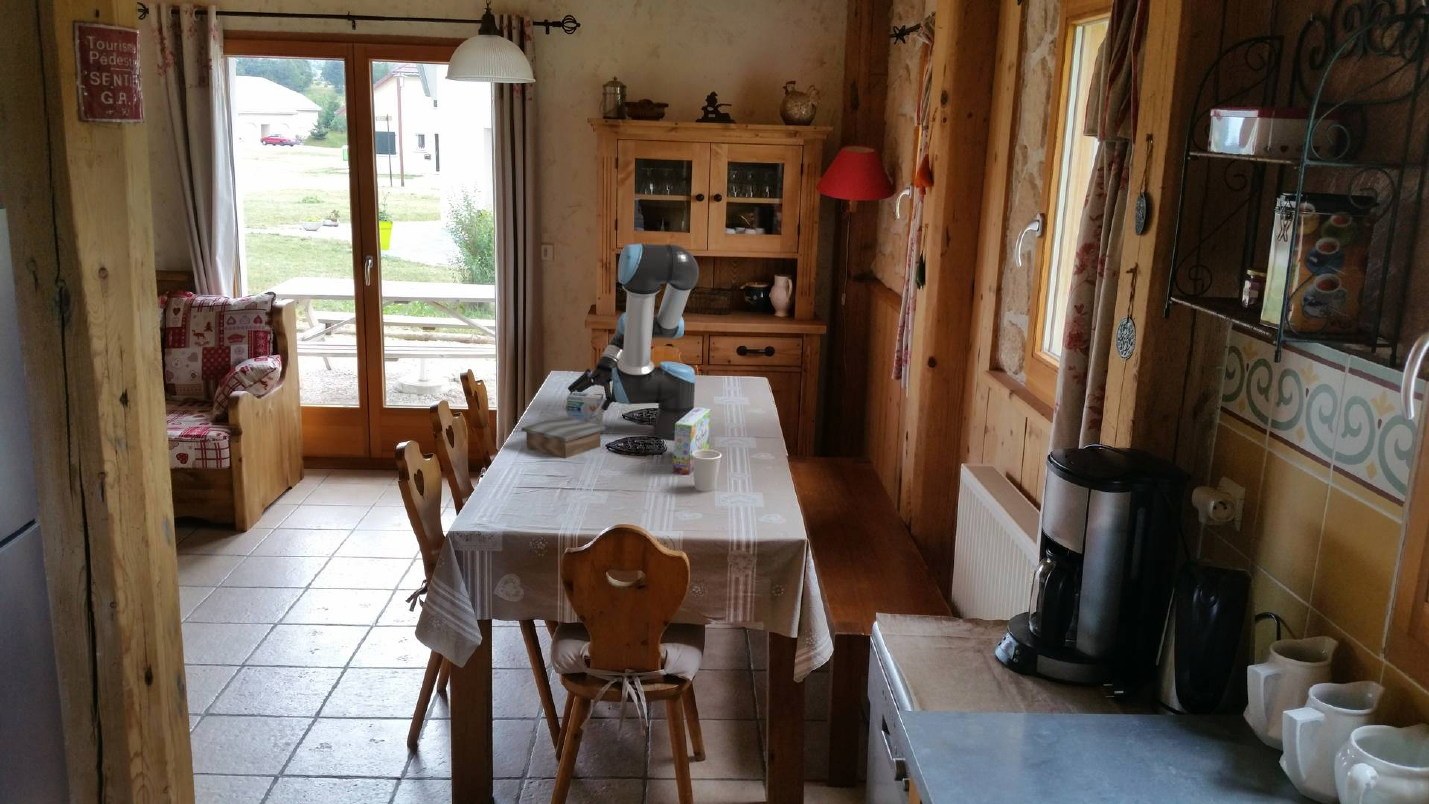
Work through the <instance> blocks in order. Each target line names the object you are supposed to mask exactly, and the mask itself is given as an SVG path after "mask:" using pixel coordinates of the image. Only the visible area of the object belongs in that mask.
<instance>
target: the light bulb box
mask: <svg viewBox="0 0 1429 804" xmlns="http://www.w3.org/2000/svg"><path fill="white" fill-rule="evenodd" d="M570 393H571V392H570ZM570 393H569V394H570ZM569 394H568V395H567V396H566V397H567V398H566V402H567V412H566V417H567V418H572V419H576V420H580V421H585V422H589V423H593V424H598V425H602V426H604V414H603V415H602V416H601V418H600V420H599V419H597V418H596V417H595V415H594V414H595V412H596V411H597V409H598V407H599V405H600V404H601V402H602V400H603V399H604V394H603V393H594V392H585V391H583V392H572V393H571V394H570V395H569Z"/></svg>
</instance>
